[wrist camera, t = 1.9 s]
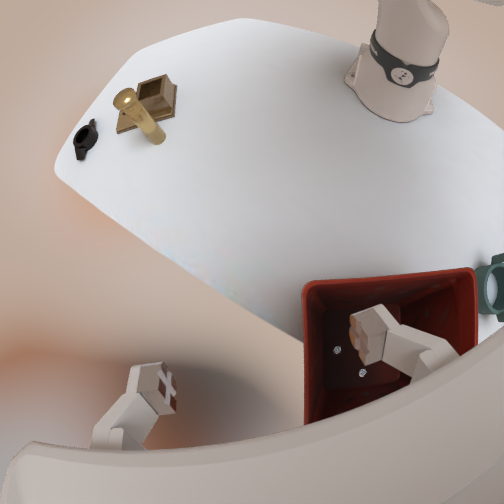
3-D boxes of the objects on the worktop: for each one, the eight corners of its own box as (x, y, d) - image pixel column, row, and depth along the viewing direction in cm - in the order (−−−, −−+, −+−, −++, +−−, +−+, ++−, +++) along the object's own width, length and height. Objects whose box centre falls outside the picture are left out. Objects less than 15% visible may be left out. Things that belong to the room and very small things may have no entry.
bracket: (485, 324, 35) (516, 327, 26) (458, 291, 37) (489, 288, 28) (506, 285, 35) (536, 281, 26) (481, 251, 37) (511, 241, 28)
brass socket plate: (123, 103, 54) (111, 90, 48) (177, 86, 52) (167, 69, 46) (118, 134, 52) (103, 121, 47) (174, 116, 50) (163, 100, 45)
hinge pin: (155, 128, 50) (121, 87, 37) (171, 131, 50) (138, 87, 36) (146, 145, 50) (108, 106, 36) (162, 148, 49) (125, 107, 36)
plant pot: (418, 278, 38) (477, 265, 22) (416, 395, 35) (466, 434, 19) (299, 287, 41) (300, 280, 25) (301, 409, 38) (301, 466, 22)
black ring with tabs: (110, 128, 53) (103, 122, 50) (83, 164, 53) (76, 159, 50) (95, 119, 55) (88, 114, 52) (70, 153, 54) (63, 148, 52)
